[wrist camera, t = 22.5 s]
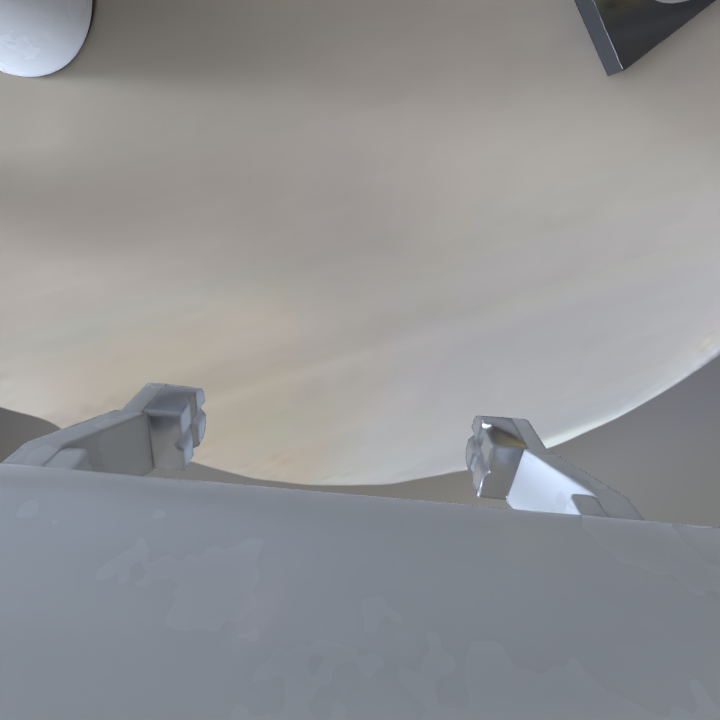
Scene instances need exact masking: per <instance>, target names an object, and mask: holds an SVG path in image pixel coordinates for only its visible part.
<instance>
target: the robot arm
mask: <svg viewBox="0 0 720 720" xmlns="http://www.w3.org/2000/svg"><path fill="white" fill-rule="evenodd" d="M91 15H92V0H0V71H2V72H5V73H9V74H12V75H17V76H23V77H37V76H43V75H48V74H50V73H53V72H55V71H58V70H59V69H61V68H63V67H64V66H65V65H67V64H68V63H69V62H70V61H71V60H72V59H73V58H74V57H75V56H76V54H77V53H78V52H79V50H80V48H81V47H82V45H83V43H84V41H85V38H86V36H87V33H88V30H89V26H90V21H91ZM204 402H205V398H204V391H203V389H202V388H196V387H188V386H179V385H170V384H163V383H147V384H146V385H145V386H144V387H143V388H142V389H141V390H140V391H139V392H138V394H137V395H136V396H135V397H134V398H133V399H132V400H131V401H130V402H129V403H128V404H127V405H126V406H125V407H124V408H123V409H122V410H114V411H111V412H109V413H106V414H103V415H100V416H98V417H95V418H92V419H89V420H86V421H84V422H81V423H78V424H75V425H73V426H70V427H67V428H64V429H62V430H59V431H56V432H54V433H51V434H48V435H45V436H42V437H40V438H37V439H34V440H31V441H29V442H26V443H25V444H24V445H23V446H21V447H20V448H19V449H18V450H17V451H15V452H14V453H13V454H12V455H11V456H9V457H8V458H7V459H6V460H5V461H4V462H2V463H0V720H720V527H709V526H697V525H686V524H675V523H664V522H653V521H645V520H644V518H643V517H642V516H641V515H640V513H639V512H638V511H637V509H636V508H635V507H634V506H633V504H632V503H631V502H630V500H629V499H628V498H627V497H625V496H624V495H622V494H620V493H619V492H617V491H616V490H614V489H612V488H611V487H609V486H608V485H606V484H604V483H603V482H601V481H599V480H598V479H596V478H595V477H593V476H591V475H590V474H588V473H587V472H585V471H583V470H582V469H580V468H578V467H577V466H575V465H574V464H572V463H570V462H569V461H567V460H565V459H564V458H562V457H561V456H559V455H557V454H556V453H554V452H552V451H547V449H546V448H545V446H544V445H543V443H542V441H541V440H540V438H539V437H538V435H537V434H536V432H535V430H534V429H533V427H532V426H531V424H530V423H529V421H528V420H526V419H518V418H503V417H489V416H476V417H475V419H474V421H473V424H472V429H473V432H474V435H473V436H472V437H471V438H470V439H468V443H467V448H466V463H467V467H468V470H469V471H470V472H471V473H472V474H474V475H473V479H472V482H473V485H474V488H475V491H476V494H477V497H483V498H492V499H500V500H507V502H508V504H509V505H510V506H511V507H512V508H513V509H508V508H496V507H486V506H474V505H463V504H452V503H440V502H429V501H418V500H407V499H395V498H385V497H374V496H362V495H351V494H339V493H329V492H317V491H306V490H295V489H284V488H272V487H261V486H251V485H238V484H228V483H217V482H206V481H194V480H183V479H172V478H161V477H150V476H145V475H146V474H148V473H149V472H151V471H153V468H155V469H171V470H185V469H186V467H187V465H188V464H189V462H190V460H191V459H192V457H193V448H195V447H197V446H199V445H200V443H201V441H202V439H203V436H204V432H205V426H206V414H205V413H204V412H203V411H202V409H201V407H202V405H203V404H204Z"/></svg>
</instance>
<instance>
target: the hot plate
mask: <svg viewBox="0 0 720 720" xmlns="http://www.w3.org/2000/svg"><path fill="white" fill-rule="evenodd" d="M714 1H715V0H575V3H576V5H577V7H578V10H579V12H580V14H581V16H582V19H583V21H584V23H585V25H586V28H587V30H588V32H589V34H590V37H591V39H592V41H593V44H594V46H595V48H596V50H597V53H598V55H599V57H600V59H601V62H602V64H603V66H604V68H605V71H606V73H607V75H608V76H610V75H613V74H616V73H619V72H622V71H624V70H625V69H627V68H628V67H629V66H631V65H632V64H633V63H635V62H636V61H637V60H638V59H640V58H641V57H642V56H644V55H645V54H646V53H648V52H649V51H650V50H651V49H653V48H654V47H655V46H657V45H658V44H659V43H661V42H662V41H663V40H665V39H666V38H667V37H668V36H670V35H671V34H672V33H674V32H675V31H676V30H678V29H679V28H680V27H681V26H683V25H684V24H685V23H687V22H688V21H689V20H691V19H692V18H693V17H694V16H696V15H697V14H698V13H700V12H701V11H702V10H704V9H705V8H706V7H708V6H709V5H710V4H711V3H713V2H714Z"/></svg>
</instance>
